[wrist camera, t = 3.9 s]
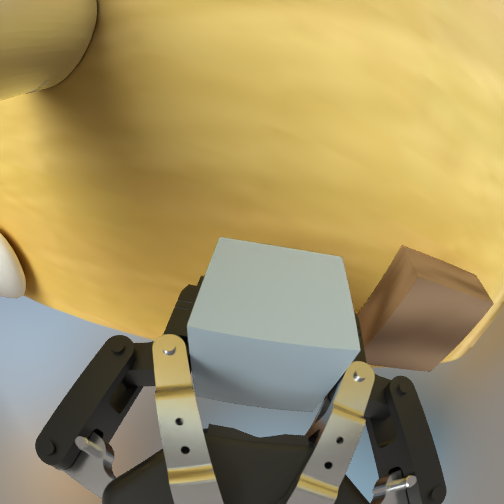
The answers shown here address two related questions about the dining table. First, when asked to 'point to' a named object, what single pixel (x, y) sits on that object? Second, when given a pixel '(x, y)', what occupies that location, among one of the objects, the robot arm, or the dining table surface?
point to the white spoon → (10, 272)
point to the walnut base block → (420, 312)
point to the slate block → (271, 326)
